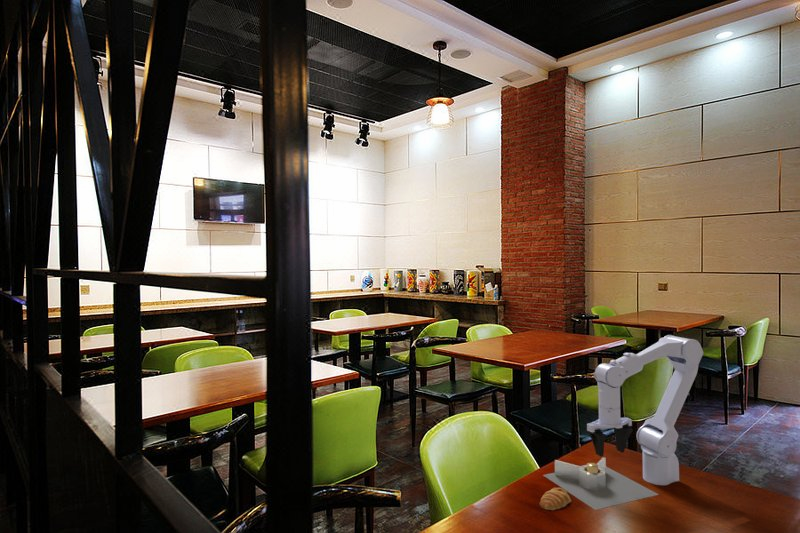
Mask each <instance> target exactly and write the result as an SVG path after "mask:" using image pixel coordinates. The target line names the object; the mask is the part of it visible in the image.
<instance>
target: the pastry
mask: <svg viewBox="0 0 800 533" xmlns="http://www.w3.org/2000/svg"><path fill="white" fill-rule="evenodd" d="M571 502H572V499H571V498H570V495H569V493H568V492H567V491H566V490H564V489H563V488H561V487H553V488H551V489H550V490H548V491H545V492H544V494H543V495H542V497H541V498H540V502H539V506H540V507H541V508H542V509H544V510H546V511H555V510H560V509H561V508H564V507H566V506H567V505H568V504H570V503H571Z"/></svg>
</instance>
